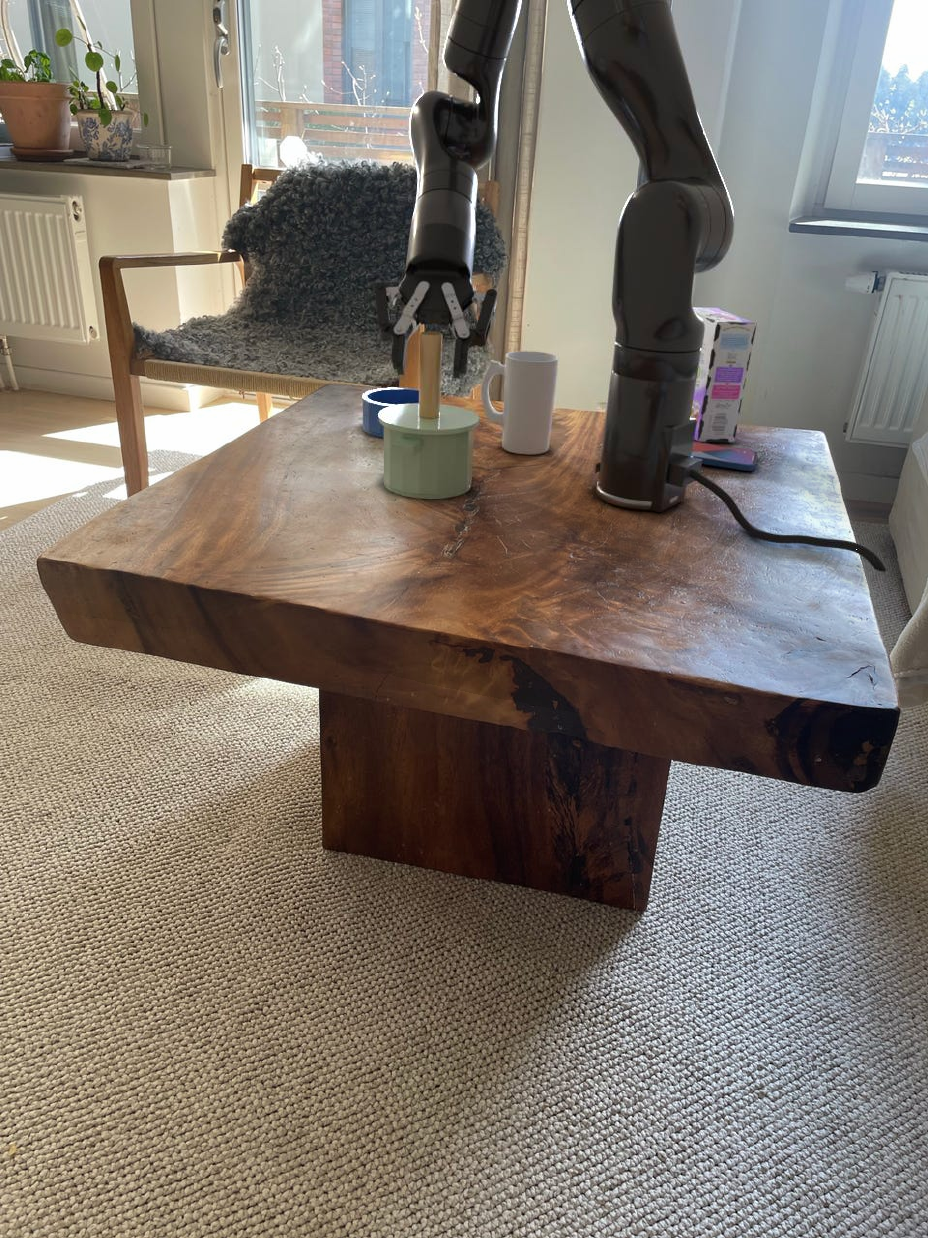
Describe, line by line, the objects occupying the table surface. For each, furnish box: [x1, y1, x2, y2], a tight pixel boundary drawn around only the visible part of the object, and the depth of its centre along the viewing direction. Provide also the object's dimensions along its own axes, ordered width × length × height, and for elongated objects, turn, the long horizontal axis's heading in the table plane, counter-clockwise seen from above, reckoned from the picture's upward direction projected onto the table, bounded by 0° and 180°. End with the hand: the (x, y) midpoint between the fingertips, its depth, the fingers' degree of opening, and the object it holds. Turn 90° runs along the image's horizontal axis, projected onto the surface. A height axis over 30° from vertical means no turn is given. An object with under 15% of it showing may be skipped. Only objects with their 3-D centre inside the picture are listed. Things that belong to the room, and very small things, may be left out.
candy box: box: [691, 306, 758, 443], centre depth 127 cm, size 14×6×16 cm, turn 8°
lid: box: [379, 331, 480, 435], centre depth 98 cm, size 11×11×10 cm
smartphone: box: [691, 441, 758, 472], centre depth 118 cm, size 7×15×1 cm, turn 71°
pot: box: [383, 426, 475, 500], centre depth 102 cm, size 10×16×8 cm, turn 161°
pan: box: [362, 387, 419, 439], centre depth 123 cm, size 10×10×4 cm
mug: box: [480, 350, 560, 456], centre depth 116 cm, size 10×7×12 cm, turn 69°
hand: (428, 372), depth 96 cm, fingers open, 5 cm apart
